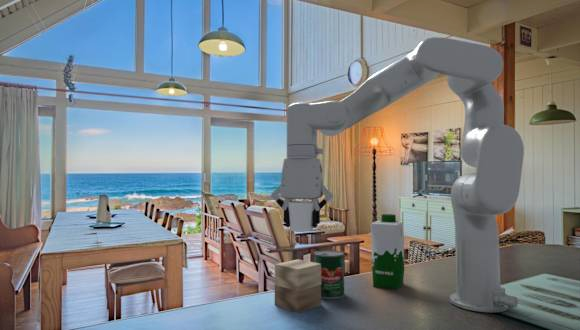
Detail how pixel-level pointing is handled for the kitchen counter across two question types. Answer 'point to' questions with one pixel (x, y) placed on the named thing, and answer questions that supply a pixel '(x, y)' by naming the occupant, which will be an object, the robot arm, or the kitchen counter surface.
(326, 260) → the canned tomato
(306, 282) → the block upper
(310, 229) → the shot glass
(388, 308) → the kitchen counter surface
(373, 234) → the milk carton
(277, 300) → the block lower
